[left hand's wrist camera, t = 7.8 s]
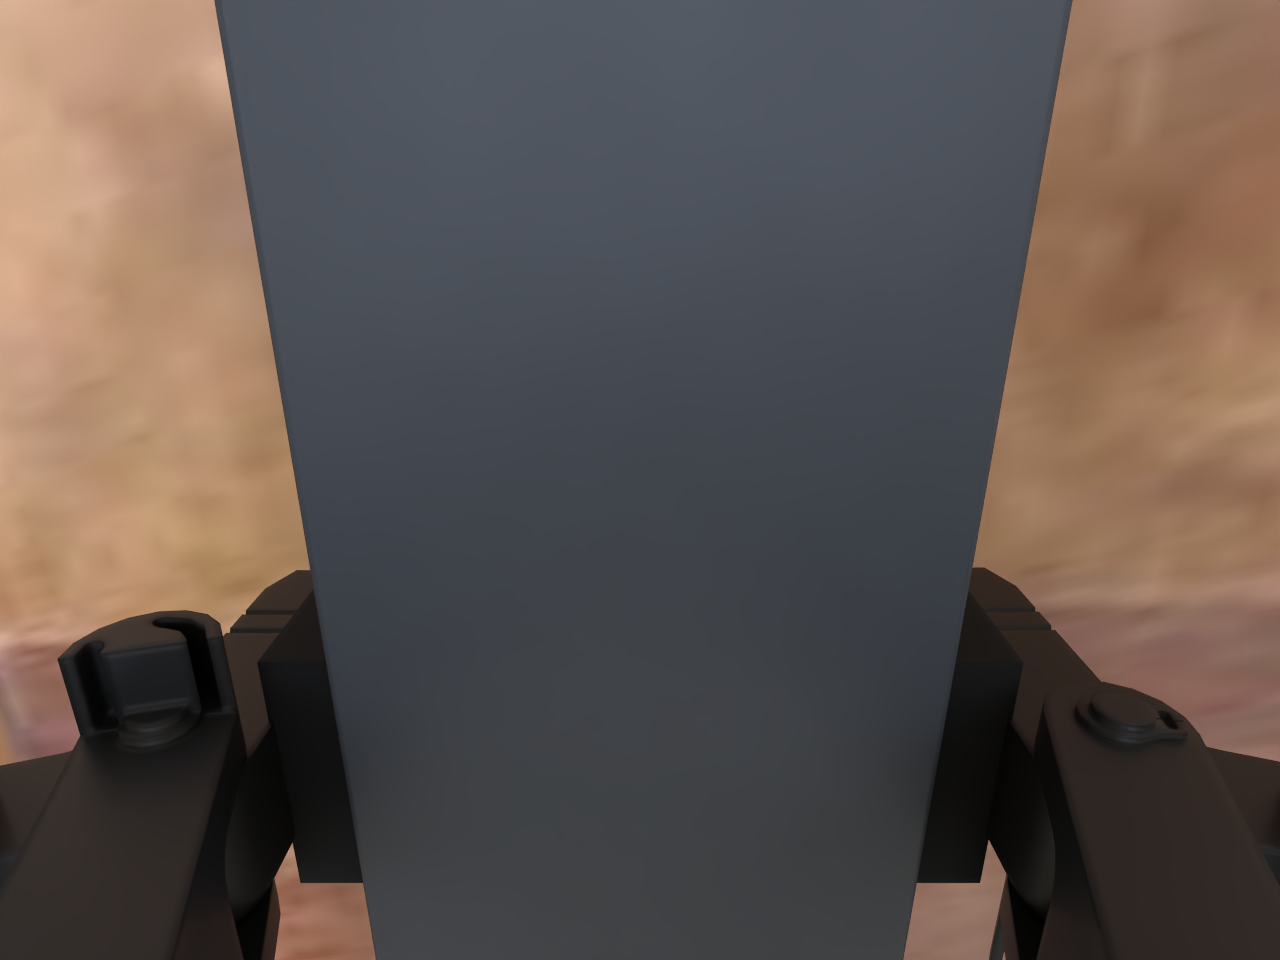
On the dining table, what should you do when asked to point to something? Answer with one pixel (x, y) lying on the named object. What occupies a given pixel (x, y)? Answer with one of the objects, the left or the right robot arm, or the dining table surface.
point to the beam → (641, 441)
